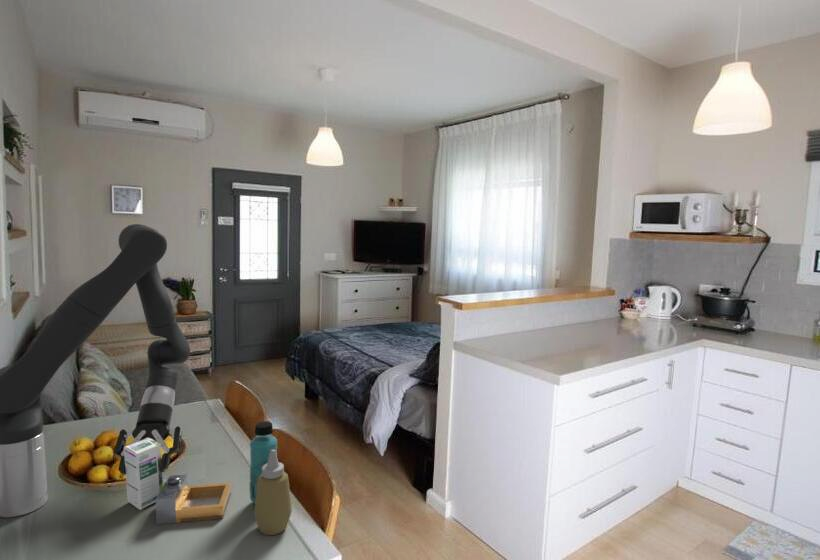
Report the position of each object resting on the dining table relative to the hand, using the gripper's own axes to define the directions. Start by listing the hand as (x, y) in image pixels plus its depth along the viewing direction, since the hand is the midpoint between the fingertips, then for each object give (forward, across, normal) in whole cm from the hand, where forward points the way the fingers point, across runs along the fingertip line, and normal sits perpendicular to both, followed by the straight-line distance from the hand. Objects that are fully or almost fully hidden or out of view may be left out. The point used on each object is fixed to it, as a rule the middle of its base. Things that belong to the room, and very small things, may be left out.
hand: (142, 472), depth 111 cm
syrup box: (+5, 0, +6) cm, 8 cm away
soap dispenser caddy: (+8, +13, +3) cm, 16 cm away
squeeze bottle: (+16, +31, -4) cm, 35 cm away
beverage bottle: (+8, +28, +3) cm, 29 cm away
